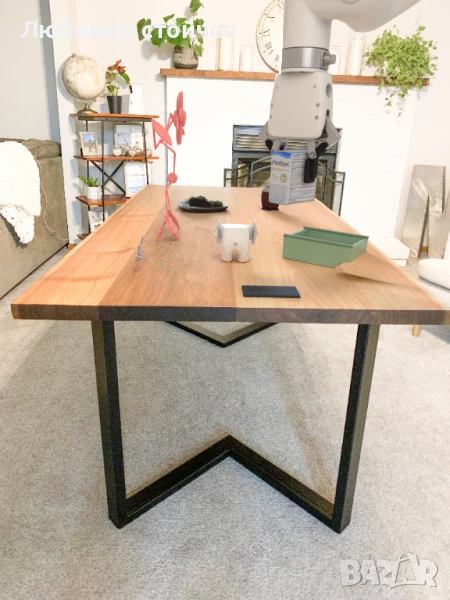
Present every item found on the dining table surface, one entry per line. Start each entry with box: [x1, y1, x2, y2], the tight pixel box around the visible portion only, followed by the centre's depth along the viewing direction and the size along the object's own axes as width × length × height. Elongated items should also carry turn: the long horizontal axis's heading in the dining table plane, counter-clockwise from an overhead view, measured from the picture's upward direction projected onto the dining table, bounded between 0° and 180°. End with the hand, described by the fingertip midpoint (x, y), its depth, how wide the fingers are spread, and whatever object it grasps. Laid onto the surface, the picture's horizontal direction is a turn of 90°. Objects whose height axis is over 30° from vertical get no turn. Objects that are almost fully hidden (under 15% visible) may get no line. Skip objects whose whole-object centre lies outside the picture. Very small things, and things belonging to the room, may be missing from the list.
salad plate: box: [176, 195, 229, 214], centre depth 158 cm, size 19×18×5 cm
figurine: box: [149, 90, 214, 244], centre depth 112 cm, size 15×26×35 cm, turn 2°
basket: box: [281, 225, 370, 269], centre depth 101 cm, size 16×12×6 cm
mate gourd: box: [260, 185, 280, 212], centre depth 159 cm, size 8×8×15 cm
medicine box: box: [269, 149, 320, 206], centre depth 77 cm, size 8×4×9 cm, turn 134°
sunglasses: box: [133, 235, 178, 274], centre depth 93 cm, size 14×8×5 cm, turn 5°
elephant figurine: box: [213, 218, 259, 263], centre depth 98 cm, size 10×12×9 cm
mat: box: [241, 284, 301, 299], centre depth 80 cm, size 10×5×1 cm, turn 92°
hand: (293, 180), depth 77 cm, fingers closed on medicine box, 5 cm apart
